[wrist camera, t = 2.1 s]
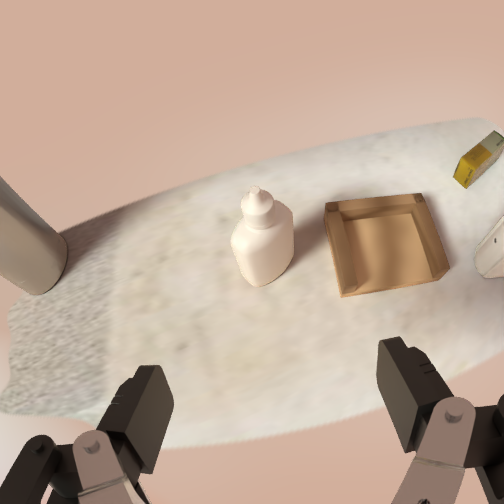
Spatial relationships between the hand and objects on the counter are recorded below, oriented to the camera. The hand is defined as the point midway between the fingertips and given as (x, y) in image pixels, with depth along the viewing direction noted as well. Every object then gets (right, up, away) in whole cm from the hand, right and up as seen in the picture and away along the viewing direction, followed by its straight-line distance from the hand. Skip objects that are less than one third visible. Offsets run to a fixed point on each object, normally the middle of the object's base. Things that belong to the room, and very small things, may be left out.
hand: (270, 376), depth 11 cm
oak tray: (+13, +5, +20) cm, 25 cm away
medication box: (+31, +16, +24) cm, 43 cm away
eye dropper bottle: (+1, +3, +21) cm, 22 cm away
